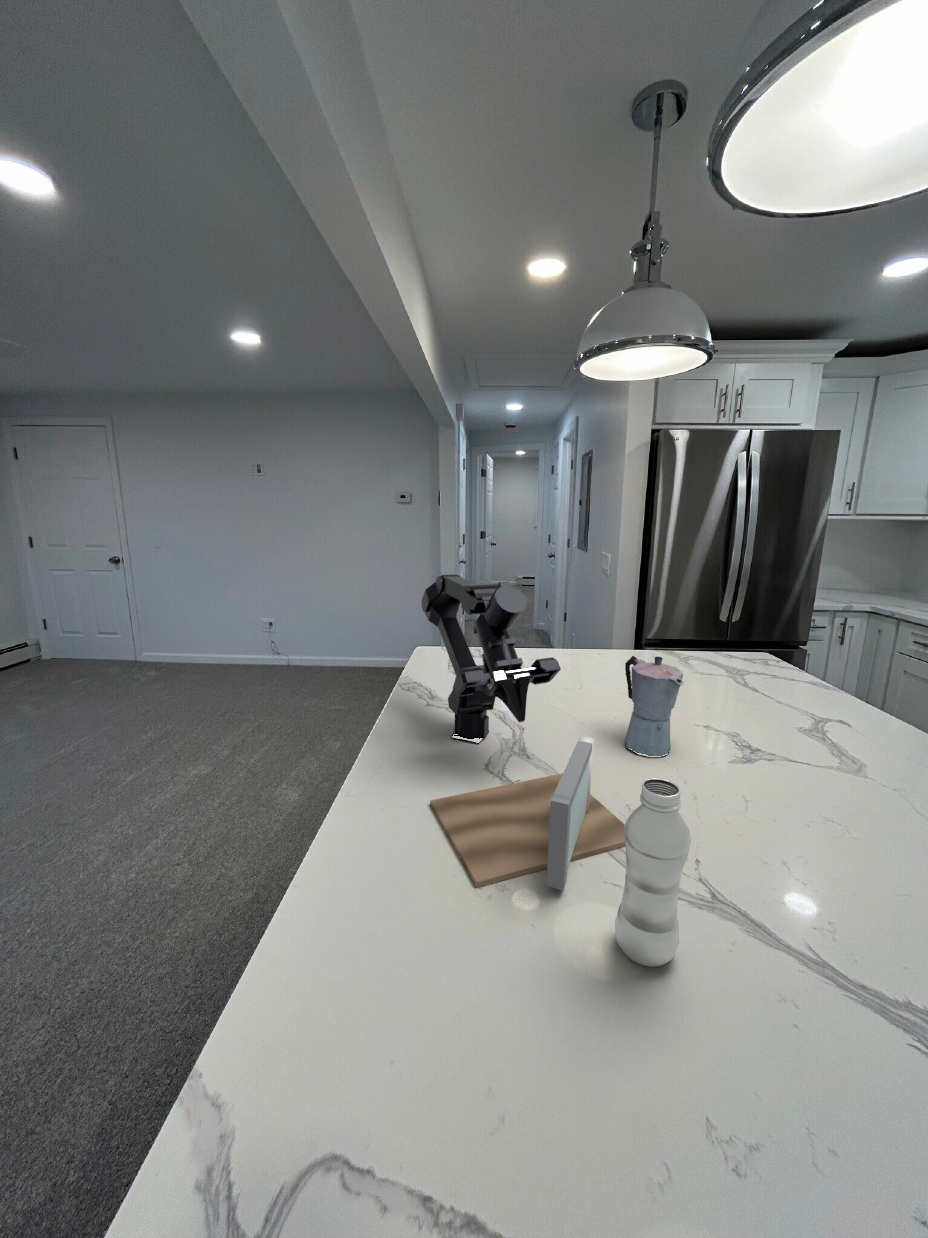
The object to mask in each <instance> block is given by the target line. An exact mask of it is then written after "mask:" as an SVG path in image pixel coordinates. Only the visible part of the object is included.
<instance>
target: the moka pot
mask: <svg viewBox="0 0 928 1238" xmlns="http://www.w3.org/2000/svg"><path fill="white" fill-rule="evenodd" d="M662 662H663V657H662V656H654V662H646V661H645V660H643V659H638V657H636V656H634V655H632V656H631V657H630V658H629V659H628V660H627V661H625V666H624V667H625V668H624V669H625V670H624V671H625V676H626V677H625V678H626V684H627V693H628V698H629V699H630V700H631V701H632V703H633V709H632V712H631V716H630V720H629V723H628V728H627V731H626V735H625V738H624V744H625V743H626V745H625V747H626V746H627V747H628V748H630V749H632V751H635V752H637V753H641V754H646V755H648V756H662V755H665V754H667V753H668V752H669V751H670V752H671V715H672V710H673V709H674V708H675V704H676V702H677V699H678V698H677V697H678V695H679V691H680V688H681V686H684V683H685V681H684V680H683V678H684V673H683V672H682V671H681V670H680V669H678V668H677V667H676V666H672V665H669V664H666V663H665V664H664V663H662ZM632 665H633V666H632ZM631 666H632V667H631ZM627 747H626V748H627ZM632 751H631V752H632Z"/></svg>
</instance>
